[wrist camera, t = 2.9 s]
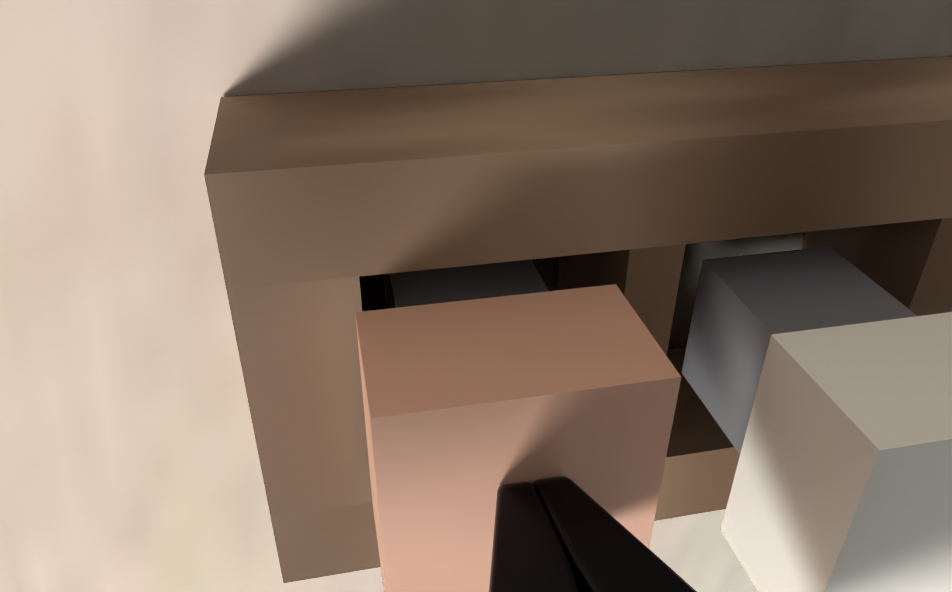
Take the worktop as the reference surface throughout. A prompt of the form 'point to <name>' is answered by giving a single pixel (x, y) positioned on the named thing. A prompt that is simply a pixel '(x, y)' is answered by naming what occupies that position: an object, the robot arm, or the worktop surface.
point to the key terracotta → (503, 411)
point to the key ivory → (827, 423)
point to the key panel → (547, 231)
